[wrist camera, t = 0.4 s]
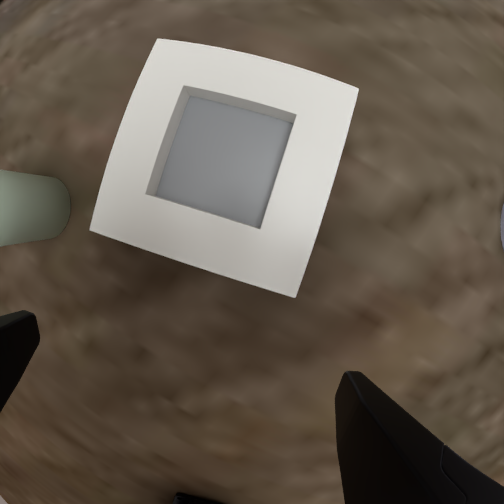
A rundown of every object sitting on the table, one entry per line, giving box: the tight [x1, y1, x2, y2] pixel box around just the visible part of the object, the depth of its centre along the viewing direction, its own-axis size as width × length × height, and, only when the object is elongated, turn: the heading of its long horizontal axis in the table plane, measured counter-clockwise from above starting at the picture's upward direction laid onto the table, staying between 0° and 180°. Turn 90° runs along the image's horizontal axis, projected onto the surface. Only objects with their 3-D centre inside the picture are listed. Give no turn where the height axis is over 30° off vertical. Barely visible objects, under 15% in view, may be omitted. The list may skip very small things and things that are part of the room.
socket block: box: [90, 39, 359, 298], centre depth 19 cm, size 14×14×2 cm
